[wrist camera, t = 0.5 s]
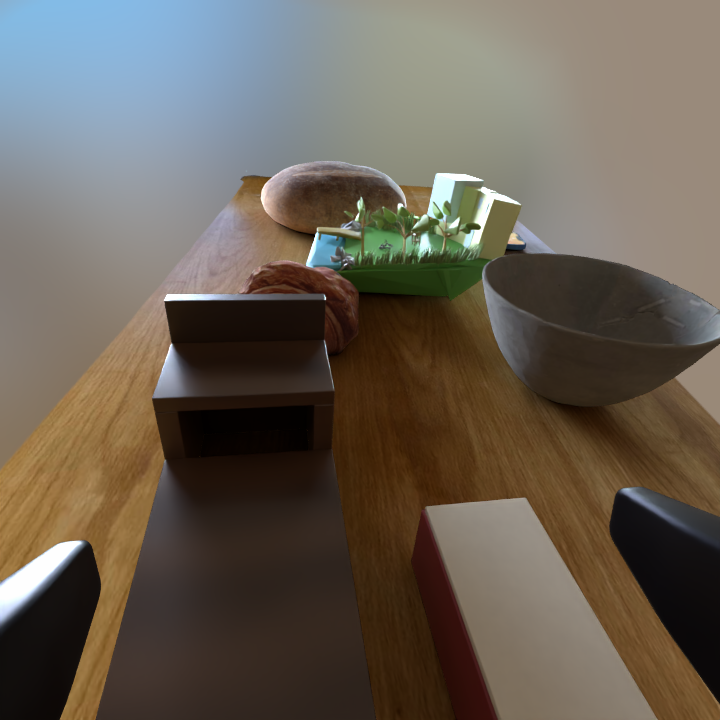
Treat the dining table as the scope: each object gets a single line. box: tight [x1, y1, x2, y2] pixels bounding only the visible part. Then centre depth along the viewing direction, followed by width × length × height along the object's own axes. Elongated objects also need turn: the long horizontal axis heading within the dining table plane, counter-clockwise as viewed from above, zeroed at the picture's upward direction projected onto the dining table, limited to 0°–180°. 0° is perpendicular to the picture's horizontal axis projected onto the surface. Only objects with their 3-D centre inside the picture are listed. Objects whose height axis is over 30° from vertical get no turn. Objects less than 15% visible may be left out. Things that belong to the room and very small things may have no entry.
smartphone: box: [506, 232, 526, 250], centre depth 80 cm, size 7×15×1 cm, turn 88°
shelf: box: [95, 294, 376, 720], centre depth 22 cm, size 25×10×11 cm, turn 9°
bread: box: [261, 161, 406, 234], centre depth 84 cm, size 26×27×10 cm
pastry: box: [238, 261, 359, 355], centre depth 46 cm, size 17×15×8 cm
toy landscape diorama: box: [306, 174, 522, 301], centre depth 59 cm, size 35×20×13 cm, turn 91°
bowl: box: [482, 253, 720, 407], centre depth 40 cm, size 19×19×10 cm
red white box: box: [411, 498, 658, 720], centre depth 21 cm, size 12×6×5 cm, turn 9°
